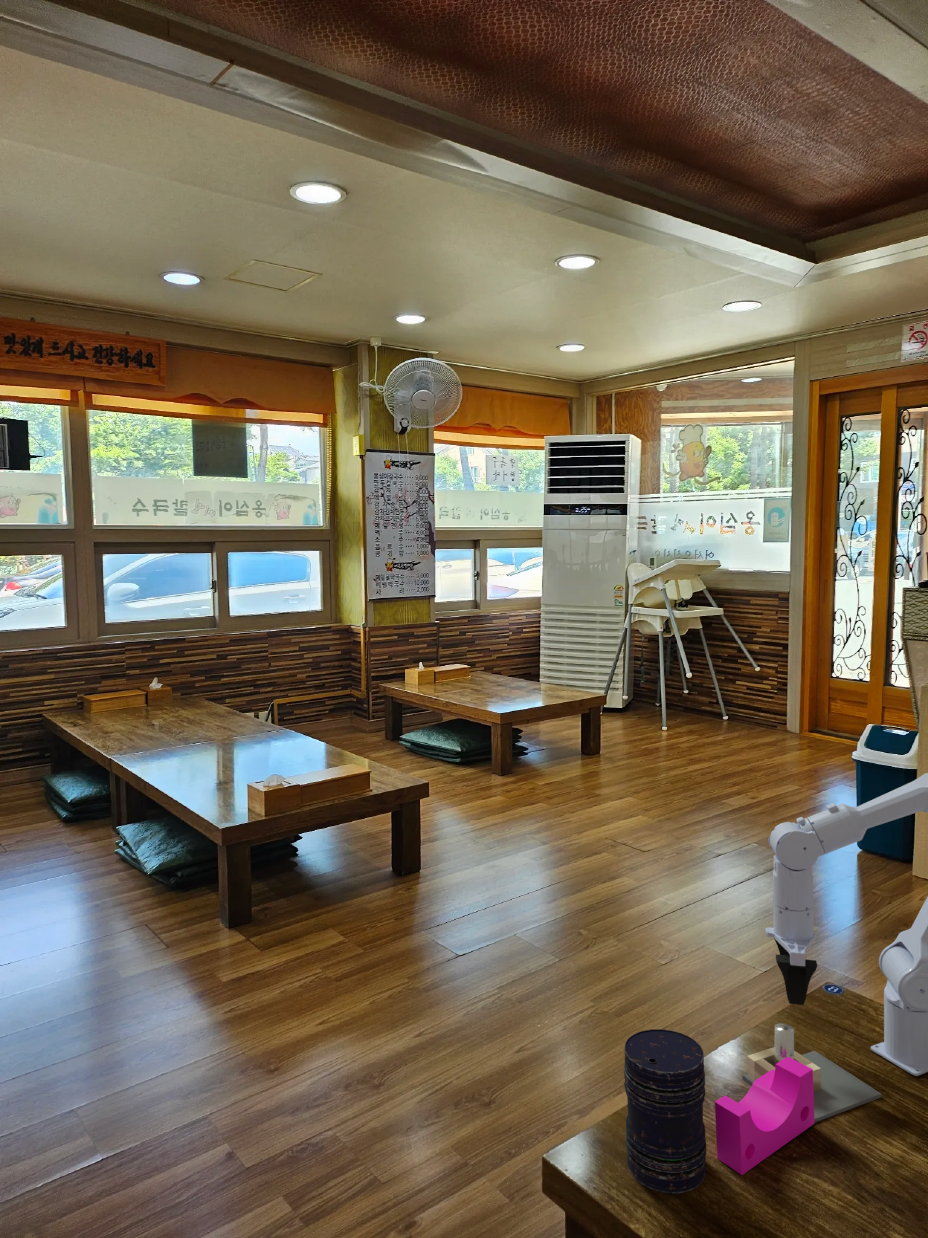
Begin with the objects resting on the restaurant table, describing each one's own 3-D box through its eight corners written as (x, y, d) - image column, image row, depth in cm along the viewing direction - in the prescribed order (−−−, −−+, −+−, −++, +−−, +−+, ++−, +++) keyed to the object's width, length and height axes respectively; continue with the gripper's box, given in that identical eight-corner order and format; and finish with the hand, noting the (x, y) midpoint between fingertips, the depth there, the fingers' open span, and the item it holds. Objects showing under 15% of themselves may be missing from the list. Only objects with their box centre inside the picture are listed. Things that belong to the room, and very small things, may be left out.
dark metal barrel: (650, 1129, 114) (647, 1020, 113) (720, 1161, 108) (718, 1045, 107) (611, 1170, 107) (608, 1054, 106) (684, 1207, 100) (681, 1083, 100)
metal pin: (784, 1075, 124) (784, 1021, 124) (797, 1085, 122) (798, 1030, 122) (770, 1079, 123) (770, 1026, 123) (783, 1089, 121) (783, 1035, 120)
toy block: (773, 1100, 119) (771, 1048, 118) (814, 1123, 114) (812, 1069, 113) (701, 1148, 110) (699, 1092, 110) (741, 1175, 105) (739, 1117, 105)
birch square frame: (784, 1063, 127) (784, 1044, 127) (821, 1089, 121) (820, 1068, 121) (747, 1076, 125) (747, 1056, 124) (783, 1102, 118) (782, 1081, 118)
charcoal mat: (814, 1054, 130) (814, 1050, 130) (881, 1097, 119) (881, 1094, 119) (742, 1078, 125) (742, 1075, 125) (805, 1126, 114) (805, 1122, 114)
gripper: (762, 884, 138) (763, 966, 139) (767, 920, 124) (769, 1012, 125) (809, 888, 136) (810, 971, 137) (820, 925, 122) (821, 1017, 123)
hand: (794, 991), depth 131 cm, fingers open, 7 cm apart
